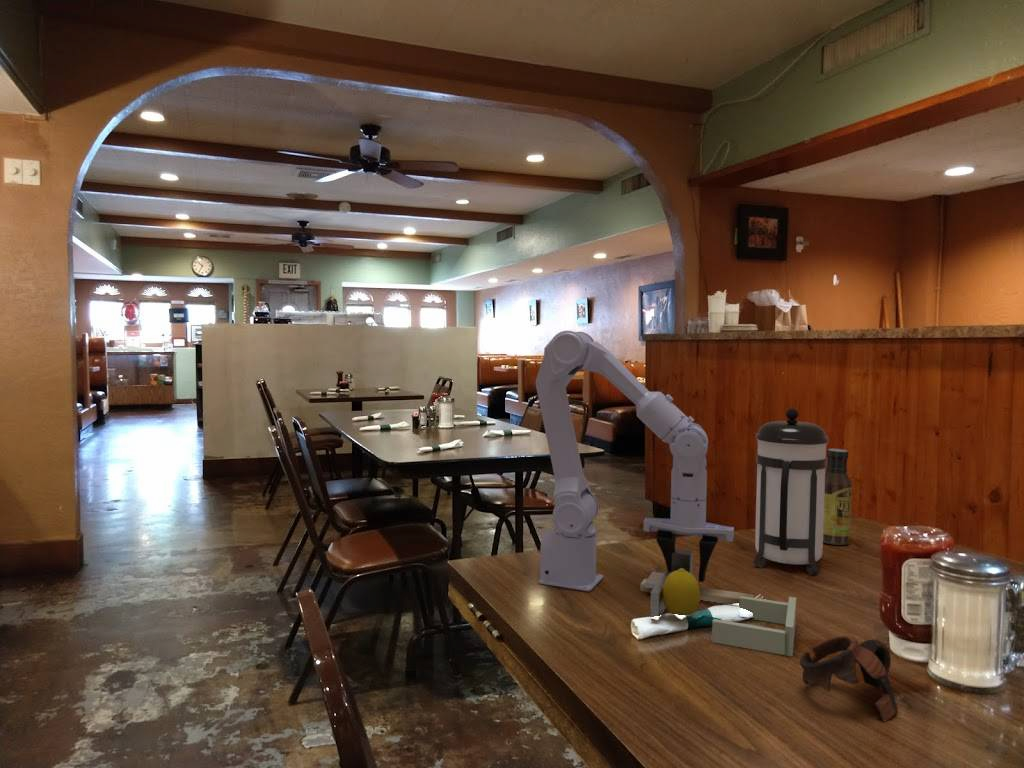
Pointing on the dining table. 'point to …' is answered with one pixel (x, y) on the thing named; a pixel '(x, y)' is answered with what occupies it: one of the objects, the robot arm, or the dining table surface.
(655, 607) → the slider
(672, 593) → the lemon
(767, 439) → the coffee press
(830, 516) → the sauce bottle
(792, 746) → the dining table surface
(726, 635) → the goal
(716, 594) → the rail
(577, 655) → the dining table surface
